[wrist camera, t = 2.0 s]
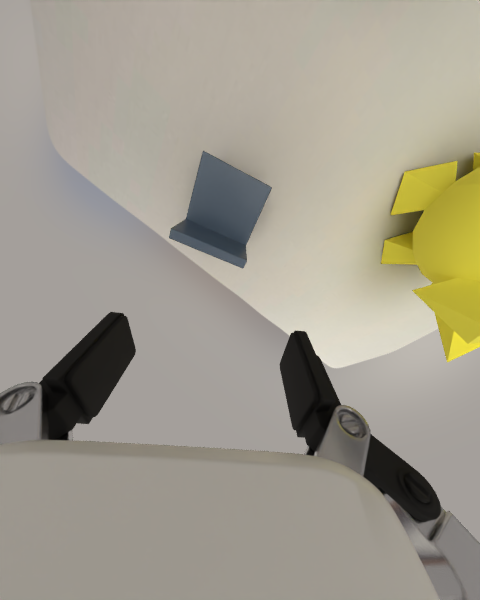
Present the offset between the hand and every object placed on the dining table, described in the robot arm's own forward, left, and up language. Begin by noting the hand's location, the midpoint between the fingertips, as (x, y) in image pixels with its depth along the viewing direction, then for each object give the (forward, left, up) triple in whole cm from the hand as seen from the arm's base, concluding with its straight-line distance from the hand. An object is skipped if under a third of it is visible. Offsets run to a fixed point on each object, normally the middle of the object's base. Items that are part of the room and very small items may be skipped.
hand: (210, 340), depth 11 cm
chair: (-2, +5, -23) cm, 24 cm away
